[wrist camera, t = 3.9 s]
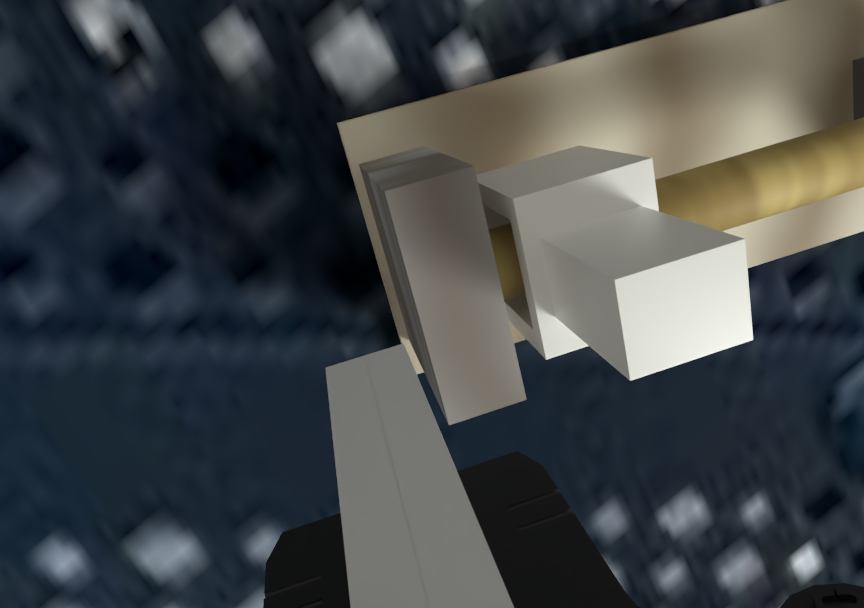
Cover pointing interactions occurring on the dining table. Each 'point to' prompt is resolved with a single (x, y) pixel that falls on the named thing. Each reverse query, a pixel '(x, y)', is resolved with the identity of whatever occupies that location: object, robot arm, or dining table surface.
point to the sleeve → (615, 263)
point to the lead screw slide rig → (621, 132)
